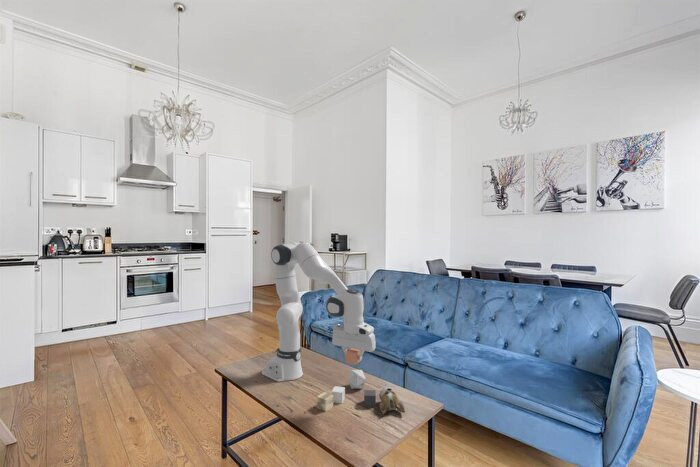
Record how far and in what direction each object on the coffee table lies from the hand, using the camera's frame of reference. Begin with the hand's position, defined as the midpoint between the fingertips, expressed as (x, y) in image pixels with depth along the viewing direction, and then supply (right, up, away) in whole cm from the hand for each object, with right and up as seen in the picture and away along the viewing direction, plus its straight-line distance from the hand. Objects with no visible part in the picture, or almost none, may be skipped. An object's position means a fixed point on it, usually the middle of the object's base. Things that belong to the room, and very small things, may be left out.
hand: (353, 357), depth 141 cm
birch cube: (-12, -21, -2) cm, 24 cm away
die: (+2, -21, +17) cm, 27 cm away
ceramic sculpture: (+16, -22, -2) cm, 27 cm away
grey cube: (-7, -21, +5) cm, 23 cm away
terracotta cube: (0, -2, 0) cm, 2 cm away
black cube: (+7, -21, +2) cm, 23 cm away
